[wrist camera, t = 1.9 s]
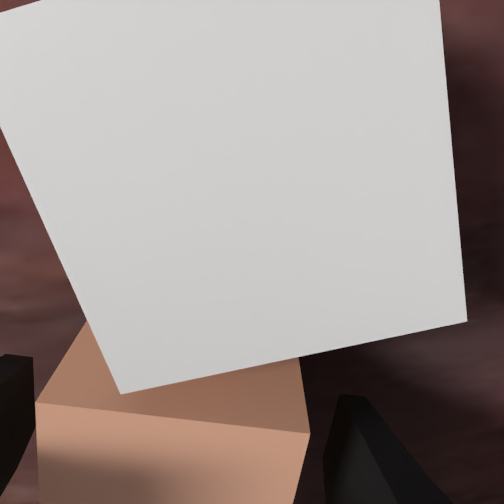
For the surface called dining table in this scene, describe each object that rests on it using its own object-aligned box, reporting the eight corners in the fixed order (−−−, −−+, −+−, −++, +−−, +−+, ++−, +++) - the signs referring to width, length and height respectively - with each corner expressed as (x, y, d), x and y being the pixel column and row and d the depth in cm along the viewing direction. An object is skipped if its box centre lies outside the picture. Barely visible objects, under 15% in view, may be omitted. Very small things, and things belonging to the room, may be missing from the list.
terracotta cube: (262, 437, 14) (267, 603, 9) (107, 419, 13) (42, 582, 9) (289, 302, 12) (310, 433, 8) (112, 279, 12) (35, 402, 7)
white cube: (376, 210, 11) (467, 321, 6) (173, 258, 11) (120, 394, 7) (338, -28, 9) (429, -116, 4) (98, 41, 10) (-46, 26, 5)
